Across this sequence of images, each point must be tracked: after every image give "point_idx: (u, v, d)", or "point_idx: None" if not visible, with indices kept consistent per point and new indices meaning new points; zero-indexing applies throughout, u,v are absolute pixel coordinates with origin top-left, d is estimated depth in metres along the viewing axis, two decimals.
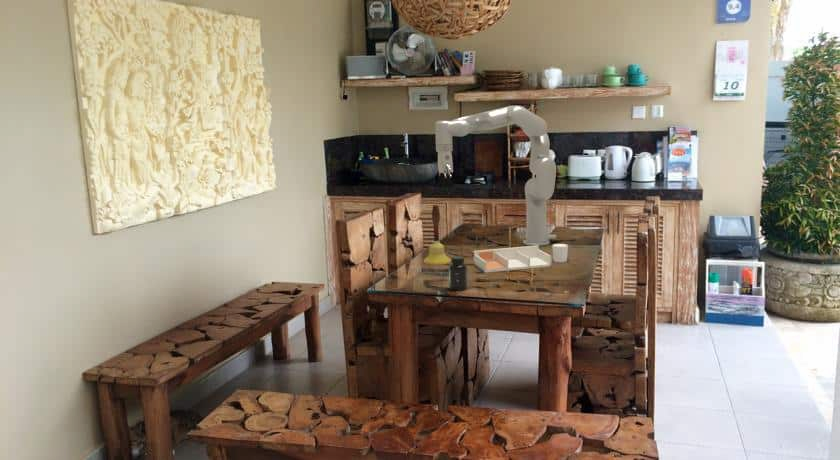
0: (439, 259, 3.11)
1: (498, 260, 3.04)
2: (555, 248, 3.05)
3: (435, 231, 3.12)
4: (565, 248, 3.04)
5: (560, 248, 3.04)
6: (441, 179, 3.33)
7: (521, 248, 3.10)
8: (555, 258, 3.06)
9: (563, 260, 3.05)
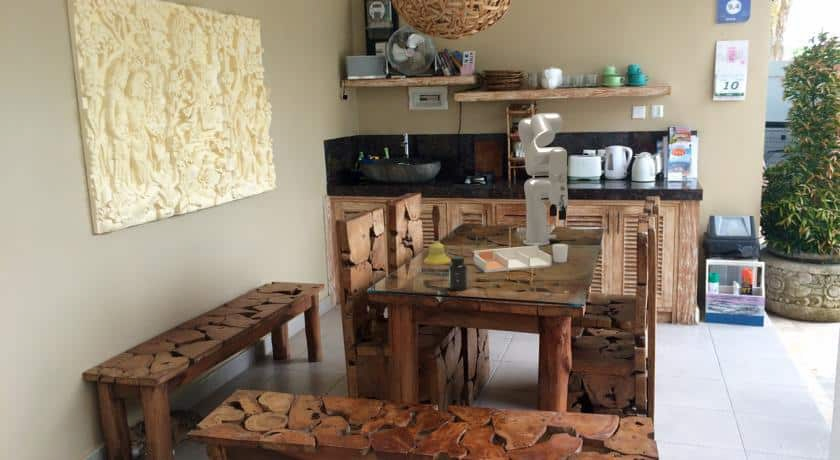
0: (439, 259, 3.11)
1: (498, 260, 3.04)
2: (555, 248, 3.05)
3: (435, 231, 3.12)
4: (565, 248, 3.04)
5: (560, 248, 3.04)
6: (552, 211, 3.09)
7: (521, 248, 3.10)
8: (555, 258, 3.06)
9: (563, 260, 3.05)
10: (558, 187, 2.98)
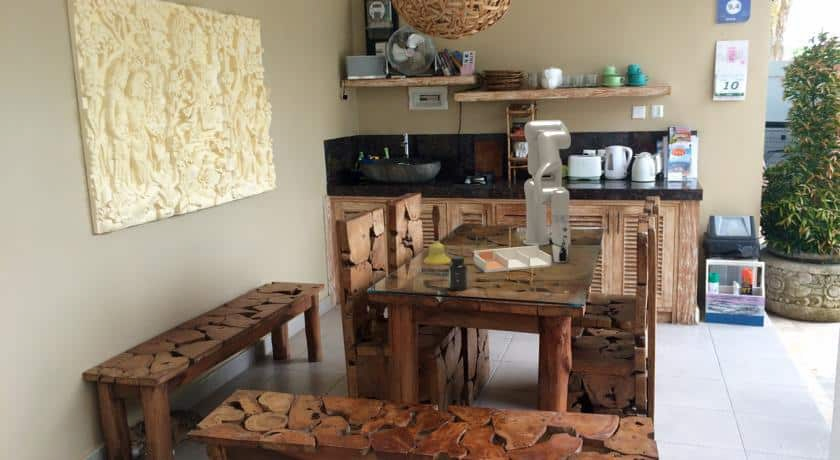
0: (439, 259, 3.11)
1: (498, 260, 3.04)
2: (555, 248, 3.05)
3: (435, 231, 3.12)
4: None
5: None
6: None
7: (521, 248, 3.10)
8: (555, 258, 3.06)
9: None
10: (561, 228, 3.01)
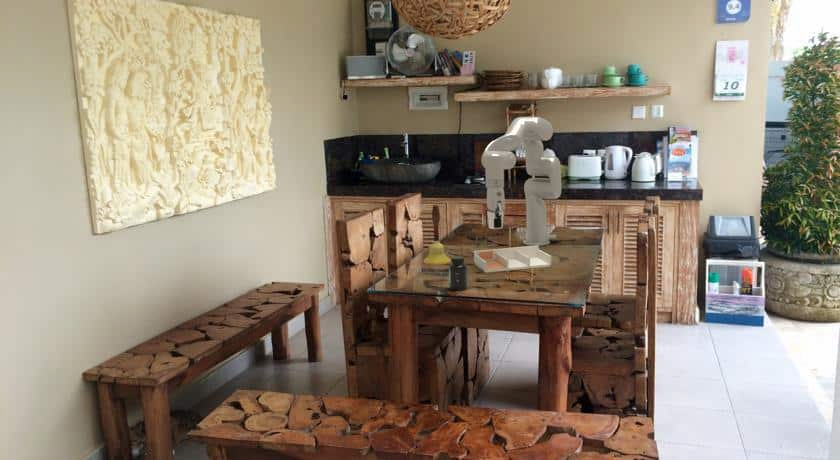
0: (439, 259, 3.11)
1: (498, 260, 3.04)
2: (490, 214, 2.94)
3: (435, 231, 3.12)
4: None
5: None
6: None
7: (521, 248, 3.10)
8: (490, 224, 2.96)
9: None
10: (494, 193, 2.90)
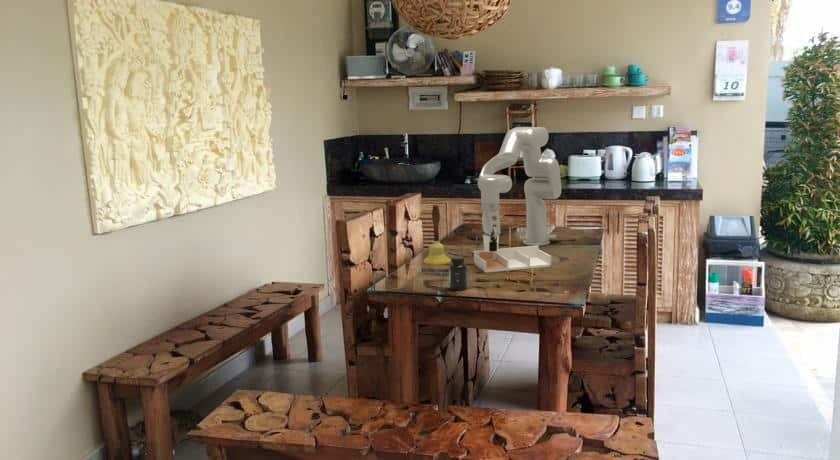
0: (439, 259, 3.11)
1: (498, 260, 3.04)
2: (485, 237, 2.96)
3: (435, 231, 3.12)
4: None
5: None
6: None
7: (521, 248, 3.10)
8: (485, 248, 2.97)
9: None
10: (490, 217, 2.92)
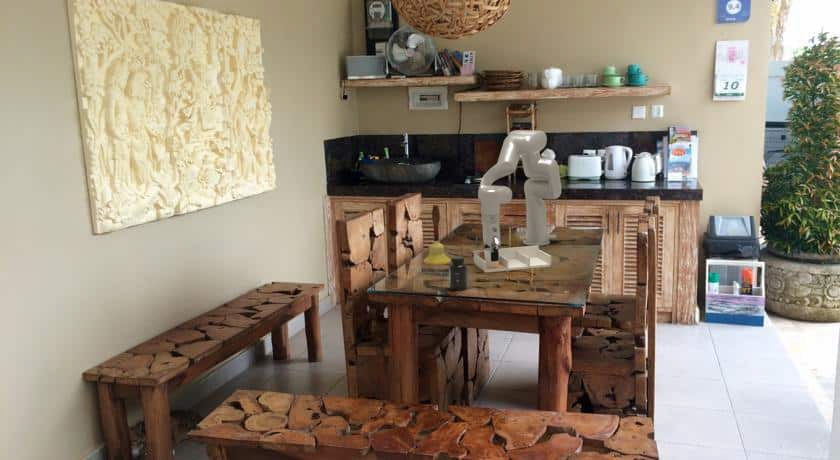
0: (439, 259, 3.11)
1: None
2: (486, 252, 2.97)
3: (435, 231, 3.12)
4: None
5: None
6: None
7: (521, 248, 3.10)
8: (486, 262, 2.98)
9: (494, 264, 2.97)
10: (490, 228, 2.93)
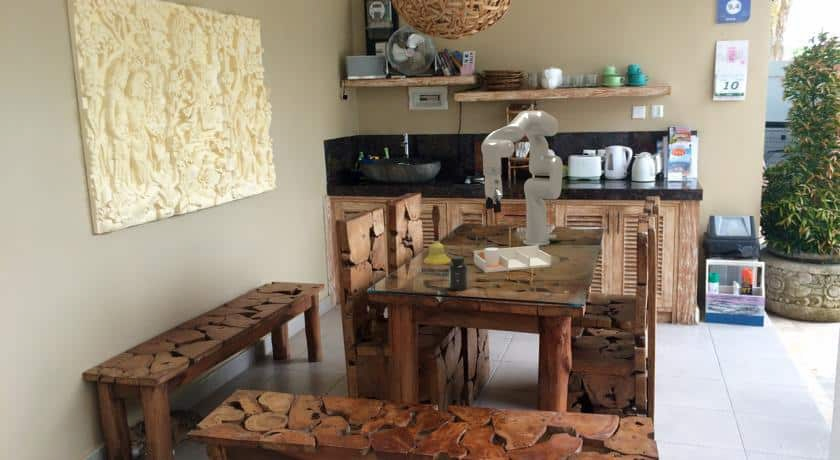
0: (439, 259, 3.11)
1: None
2: (486, 252, 2.97)
3: (435, 231, 3.12)
4: (496, 252, 2.96)
5: (491, 252, 2.95)
6: (488, 203, 3.11)
7: (521, 248, 3.10)
8: (486, 262, 2.98)
9: (494, 264, 2.97)
10: (492, 180, 3.00)
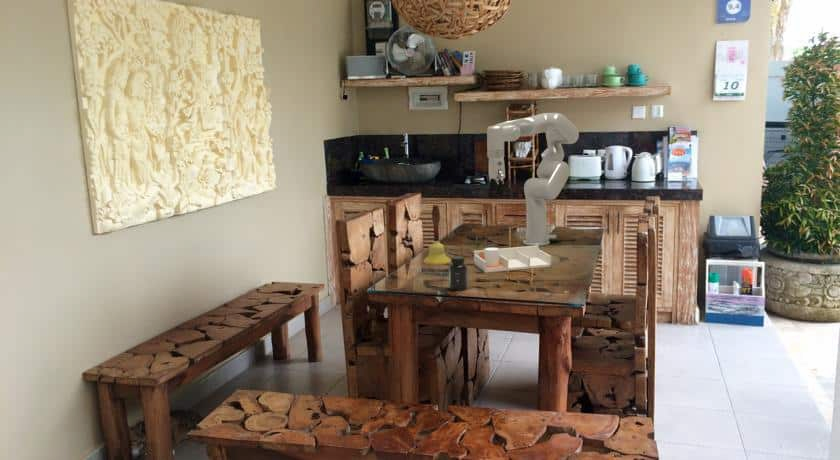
0: (439, 259, 3.11)
1: None
2: (486, 252, 2.97)
3: (435, 231, 3.12)
4: (496, 252, 2.96)
5: (491, 252, 2.95)
6: (491, 185, 3.26)
7: (521, 248, 3.10)
8: (486, 262, 2.98)
9: (494, 264, 2.97)
10: (495, 162, 3.15)
